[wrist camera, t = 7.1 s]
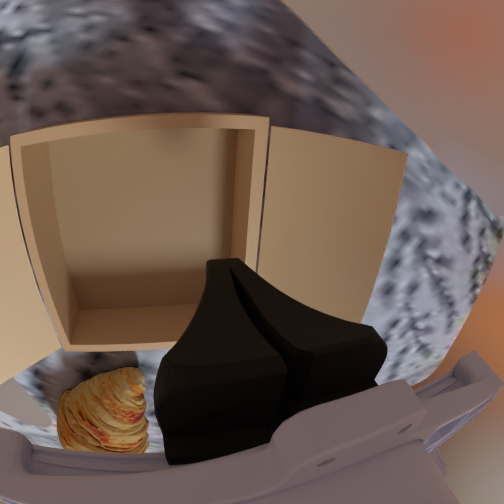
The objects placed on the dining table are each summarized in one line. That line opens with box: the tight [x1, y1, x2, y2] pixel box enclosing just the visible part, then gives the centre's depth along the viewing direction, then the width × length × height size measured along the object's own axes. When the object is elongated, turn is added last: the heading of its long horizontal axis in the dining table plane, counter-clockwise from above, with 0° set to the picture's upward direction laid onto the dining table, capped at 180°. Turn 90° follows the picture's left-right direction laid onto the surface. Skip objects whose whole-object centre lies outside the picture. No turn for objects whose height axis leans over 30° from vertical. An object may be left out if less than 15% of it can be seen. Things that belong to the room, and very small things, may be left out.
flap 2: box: [258, 126, 408, 324], centre depth 14 cm, size 12×6×1 cm
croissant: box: [57, 367, 149, 454], centre depth 22 cm, size 21×10×8 cm, turn 143°
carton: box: [10, 112, 270, 352], centre depth 15 cm, size 13×12×4 cm
